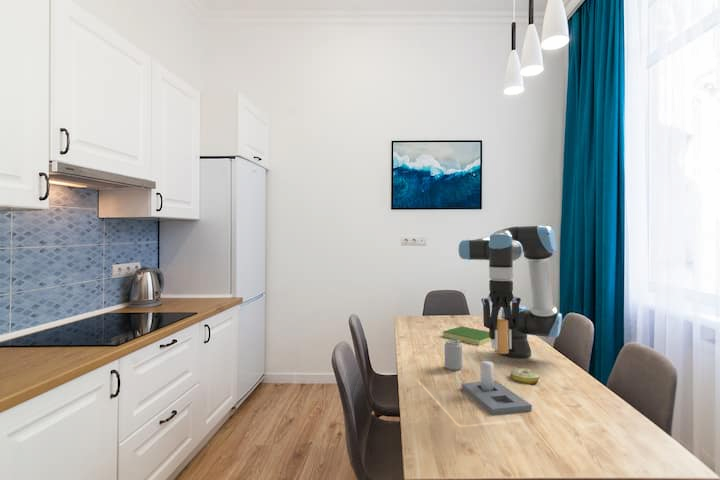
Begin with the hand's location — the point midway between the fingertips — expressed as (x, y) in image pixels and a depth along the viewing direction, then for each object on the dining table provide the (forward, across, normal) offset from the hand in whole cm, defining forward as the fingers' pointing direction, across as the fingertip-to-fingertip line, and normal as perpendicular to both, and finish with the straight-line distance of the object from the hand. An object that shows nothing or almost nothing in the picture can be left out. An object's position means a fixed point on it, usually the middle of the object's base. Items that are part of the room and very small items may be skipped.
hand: (501, 348), depth 128 cm
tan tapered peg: (+1, 0, 0) cm, 1 cm away
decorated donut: (+20, -22, -20) cm, 36 cm away
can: (+20, 0, -39) cm, 44 cm away
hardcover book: (+20, -30, -84) cm, 92 cm away
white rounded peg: (+19, 0, -10) cm, 22 cm away
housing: (+20, 0, -5) cm, 21 cm away
